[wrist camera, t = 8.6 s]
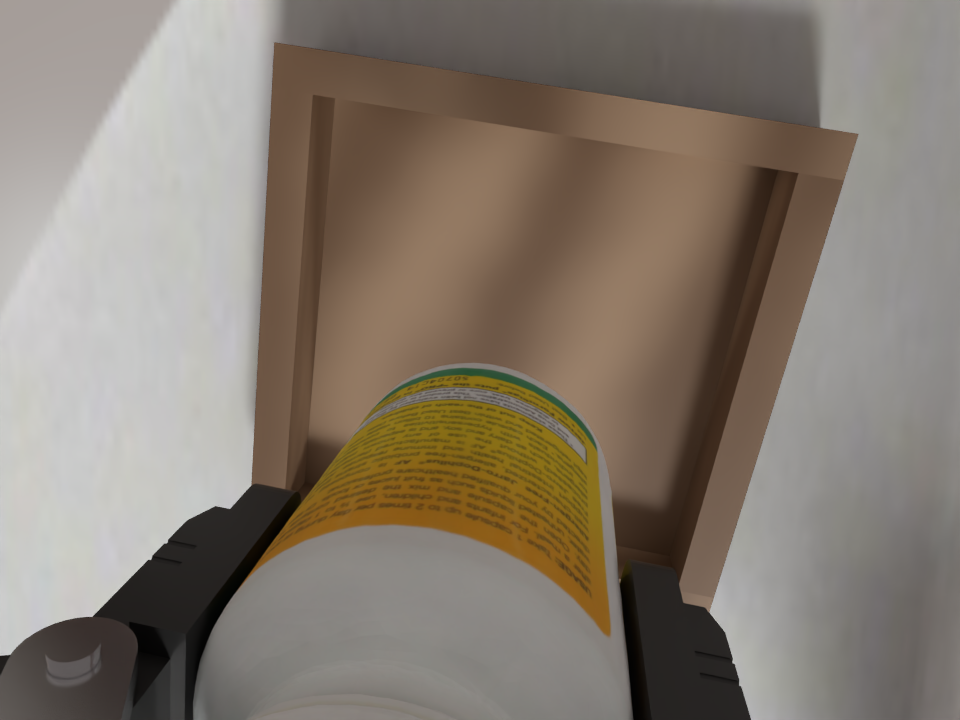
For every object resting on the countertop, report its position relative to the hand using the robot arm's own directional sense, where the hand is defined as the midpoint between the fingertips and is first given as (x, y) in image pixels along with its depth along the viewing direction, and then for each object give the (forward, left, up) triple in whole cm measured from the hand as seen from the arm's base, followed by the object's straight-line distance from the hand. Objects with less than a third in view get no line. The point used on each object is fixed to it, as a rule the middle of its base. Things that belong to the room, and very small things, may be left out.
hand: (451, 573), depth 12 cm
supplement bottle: (0, 0, -4) cm, 4 cm away
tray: (0, 0, -14) cm, 14 cm away
